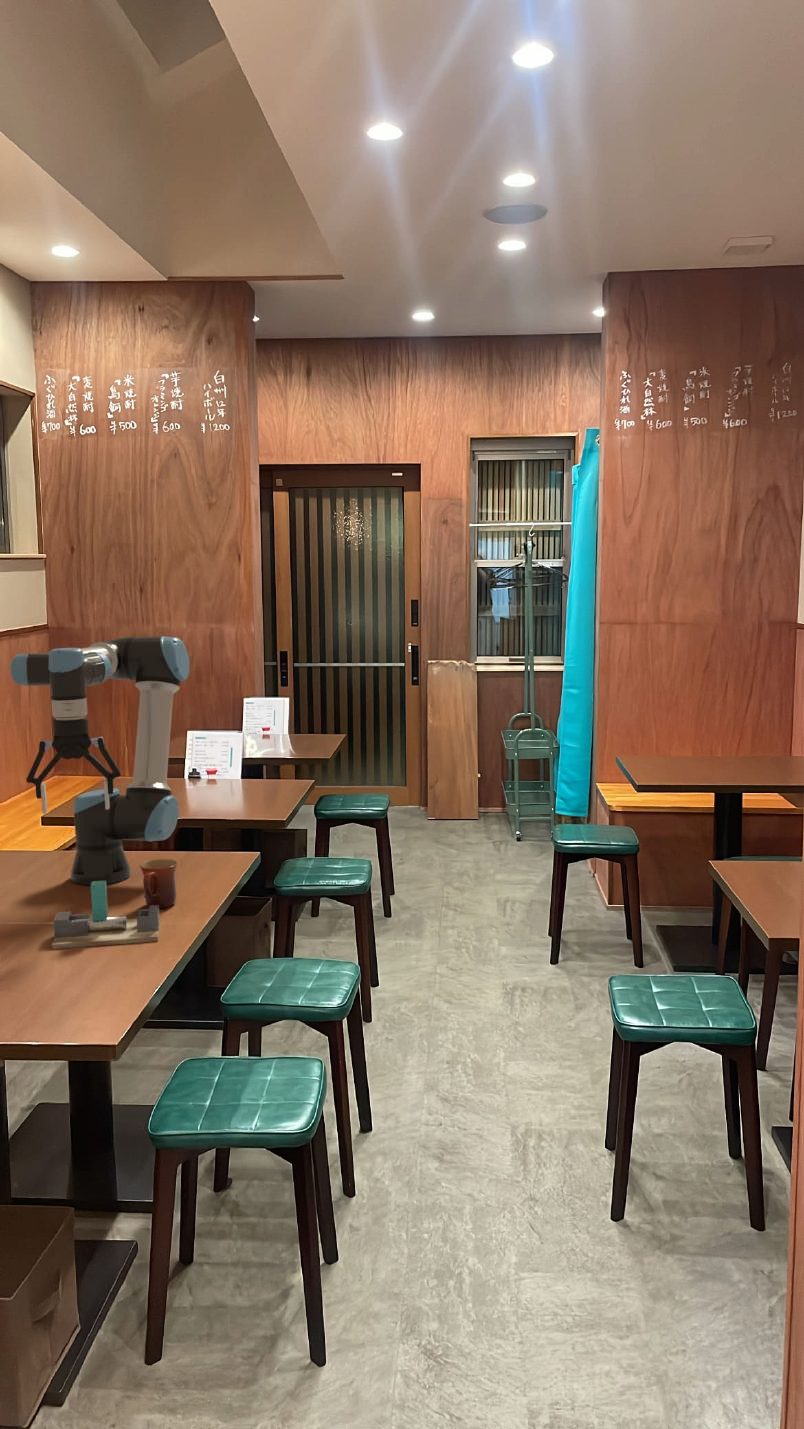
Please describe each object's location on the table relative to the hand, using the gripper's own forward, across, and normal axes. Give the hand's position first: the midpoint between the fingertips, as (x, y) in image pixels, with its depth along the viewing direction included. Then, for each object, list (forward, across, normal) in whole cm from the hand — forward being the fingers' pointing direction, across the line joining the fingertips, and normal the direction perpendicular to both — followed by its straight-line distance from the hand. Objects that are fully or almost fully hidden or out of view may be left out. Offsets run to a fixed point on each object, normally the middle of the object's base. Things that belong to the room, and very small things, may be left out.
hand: (76, 810), depth 242 cm
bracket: (+25, -2, -10) cm, 27 cm away
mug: (+27, +17, +7) cm, 32 cm away
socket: (+25, +15, -11) cm, 31 cm away
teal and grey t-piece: (+25, +2, -10) cm, 27 cm away
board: (+26, +6, -11) cm, 29 cm away
